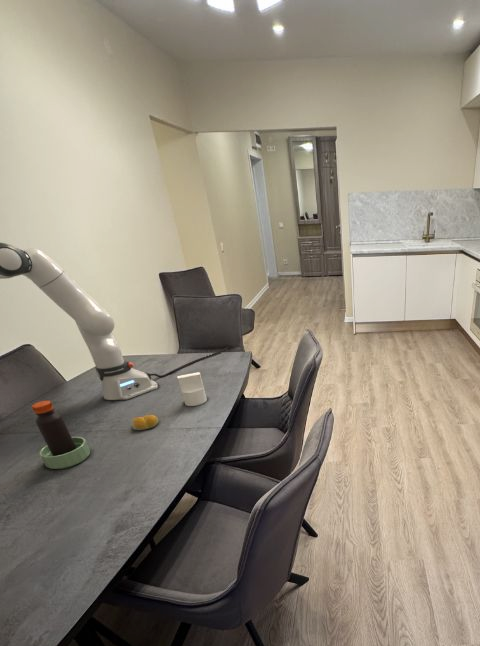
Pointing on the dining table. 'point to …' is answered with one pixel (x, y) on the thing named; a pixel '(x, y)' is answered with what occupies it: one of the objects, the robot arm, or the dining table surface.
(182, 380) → the cylinder with rectangular tab
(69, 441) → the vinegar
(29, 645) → the dining table surface
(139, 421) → the bread roll
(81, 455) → the bowl
